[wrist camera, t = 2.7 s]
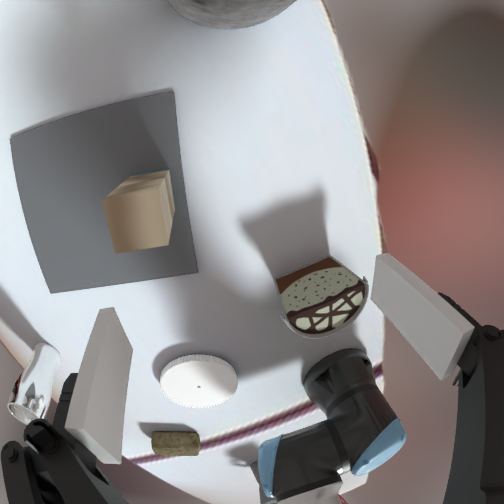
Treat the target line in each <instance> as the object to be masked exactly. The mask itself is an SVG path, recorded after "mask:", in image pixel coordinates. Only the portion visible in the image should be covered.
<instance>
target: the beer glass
mask: <svg viewBox="0 0 504 504" xmlns="http://www.w3.org/2000/svg"><path fill="white" fill-rule="evenodd" d="M61 362H62V359H61V356H60V354H59V353H58V351H57V350H56V349H54V348H53V347H52V346H50V345H48V344H45V343H38V344H36V345H35V347H34V351H33V355H32V358H31V360H30V362H29V363H28V365H27V366H26V367H25V369H24V370H23V371H22V373H21V374H20V375H19V377H18V379H17V380H16V382H15V384H14V387H13V389H12V392H11V395H10V399H9V402H8V405H7V407H8V409H9V411H10V412H11V414H12V415H13V416H14V417H15V418H17V419H18V420H19V421H21V422H23V423H24V424H26V425H28V424H29V423H30V422H31V421H32V420H35V419H37V418H42V419H44V418H45V416H46V413H47V411H48V407H49V404H50V400H51V394H52V386H53V379H54V375H55V373H56V371H57V369H58V368H59V366H60V365H61Z"/></svg>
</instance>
